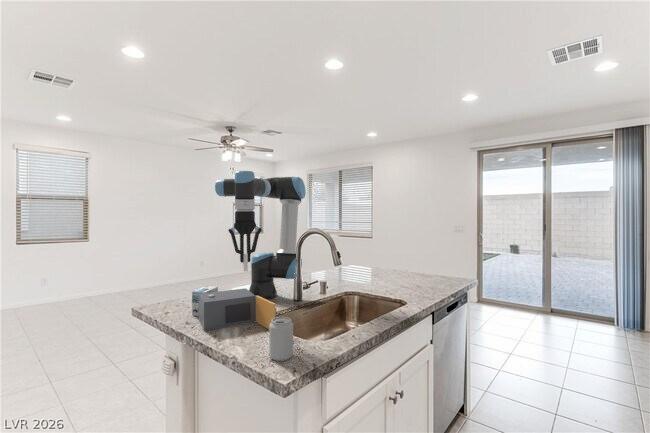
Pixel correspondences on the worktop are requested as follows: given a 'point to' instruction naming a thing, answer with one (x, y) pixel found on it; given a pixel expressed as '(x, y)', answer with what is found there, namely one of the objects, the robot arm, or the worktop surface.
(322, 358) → the worktop surface
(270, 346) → the can
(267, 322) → the orange cabinet door
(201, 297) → the grey microwave
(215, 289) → the light bulb box
